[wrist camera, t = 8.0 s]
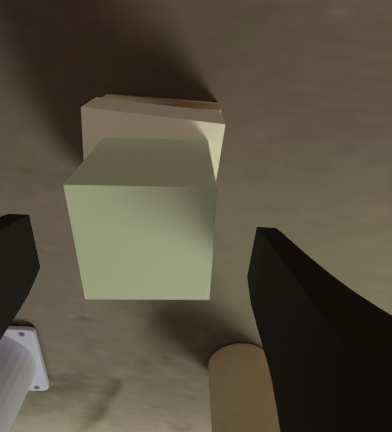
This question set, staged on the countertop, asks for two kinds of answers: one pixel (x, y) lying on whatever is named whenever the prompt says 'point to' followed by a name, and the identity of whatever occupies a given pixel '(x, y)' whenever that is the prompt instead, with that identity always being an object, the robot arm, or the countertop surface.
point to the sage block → (144, 219)
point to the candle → (241, 390)
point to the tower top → (149, 124)
